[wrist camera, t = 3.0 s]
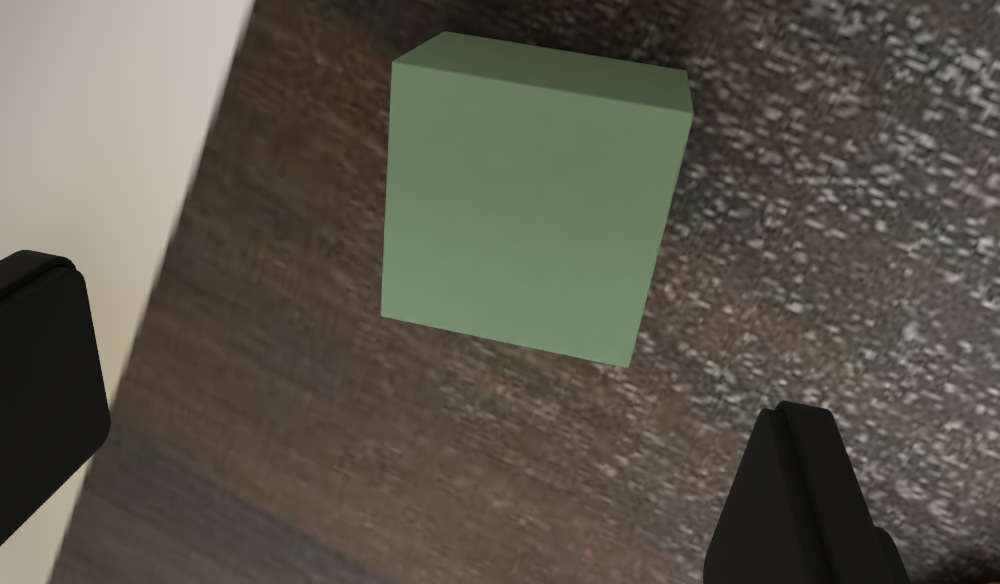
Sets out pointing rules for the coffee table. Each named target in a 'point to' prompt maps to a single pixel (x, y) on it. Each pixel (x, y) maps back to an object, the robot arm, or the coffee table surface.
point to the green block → (529, 192)
